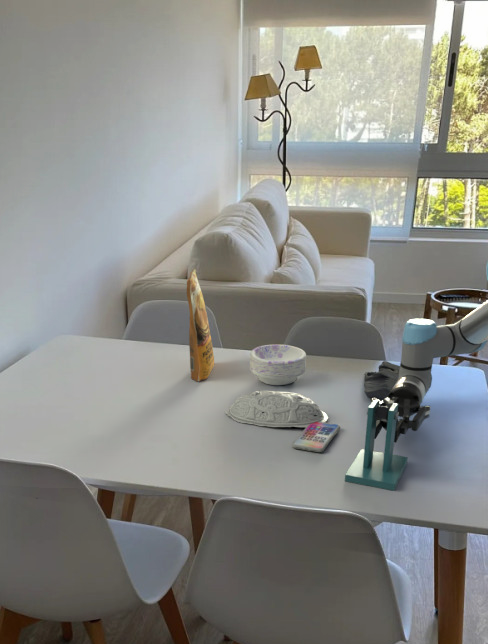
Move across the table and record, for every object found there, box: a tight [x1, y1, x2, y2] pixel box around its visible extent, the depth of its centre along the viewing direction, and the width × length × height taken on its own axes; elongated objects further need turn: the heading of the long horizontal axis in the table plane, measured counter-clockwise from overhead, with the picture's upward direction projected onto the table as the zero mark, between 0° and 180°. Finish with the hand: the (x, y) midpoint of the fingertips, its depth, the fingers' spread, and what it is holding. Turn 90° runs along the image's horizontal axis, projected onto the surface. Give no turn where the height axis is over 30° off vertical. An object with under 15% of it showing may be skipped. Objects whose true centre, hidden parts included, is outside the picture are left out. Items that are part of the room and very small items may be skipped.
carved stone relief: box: [225, 390, 329, 428], centre depth 171 cm, size 16×25×7 cm, turn 73°
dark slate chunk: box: [363, 360, 400, 401], centre depth 187 cm, size 15×22×5 cm
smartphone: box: [291, 421, 341, 453], centre depth 160 cm, size 7×1×15 cm
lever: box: [375, 406, 399, 431], centre depth 145 cm, size 14×4×4 cm, turn 156°
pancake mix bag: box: [186, 268, 215, 382], centre depth 194 cm, size 7×19×28 cm, turn 171°
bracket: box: [344, 400, 409, 492], centre depth 142 cm, size 13×10×15 cm
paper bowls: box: [249, 344, 307, 386], centre depth 193 cm, size 15×15×8 cm
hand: (384, 434), depth 146 cm, fingers closed on lever, 4 cm apart
